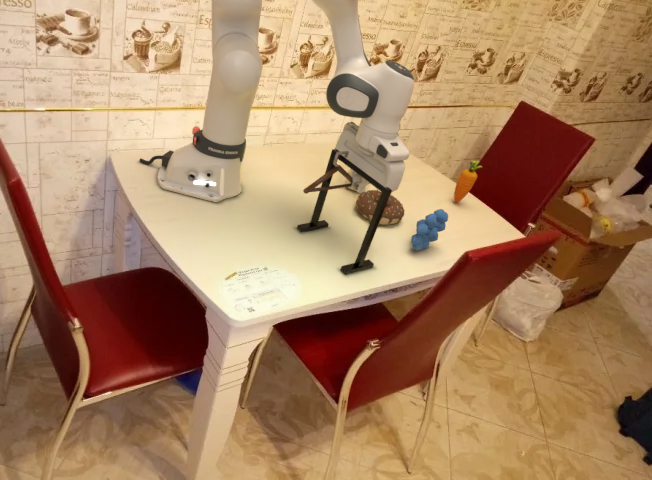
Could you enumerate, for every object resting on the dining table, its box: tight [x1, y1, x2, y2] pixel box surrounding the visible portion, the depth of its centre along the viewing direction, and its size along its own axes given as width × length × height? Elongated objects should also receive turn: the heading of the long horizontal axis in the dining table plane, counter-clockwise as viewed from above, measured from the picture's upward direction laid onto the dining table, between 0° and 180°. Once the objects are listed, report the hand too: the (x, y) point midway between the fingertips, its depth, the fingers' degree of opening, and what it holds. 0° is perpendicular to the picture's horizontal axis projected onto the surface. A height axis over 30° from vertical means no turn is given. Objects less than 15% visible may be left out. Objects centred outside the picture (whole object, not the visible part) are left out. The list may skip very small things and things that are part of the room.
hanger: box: [303, 151, 353, 195], centre depth 123 cm, size 17×1×10 cm, turn 125°
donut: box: [355, 189, 406, 226], centre depth 147 cm, size 14×14×5 cm
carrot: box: [453, 160, 483, 204], centre depth 162 cm, size 5×5×15 cm
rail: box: [296, 148, 393, 276], centre depth 123 cm, size 9×20×22 cm, turn 35°
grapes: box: [410, 208, 449, 252], centre depth 135 cm, size 12×7×12 cm, turn 129°
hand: (356, 190), depth 128 cm, fingers closed
